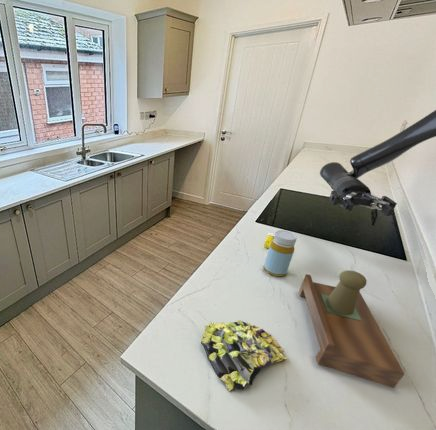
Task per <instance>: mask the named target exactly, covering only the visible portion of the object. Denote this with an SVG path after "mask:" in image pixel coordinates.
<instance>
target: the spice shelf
mask: <svg viewBox="0 0 436 430" xmlns="http://www.w3.org/2000/svg"><path fill="white" fill-rule="evenodd" d="M335 287H336V286H334V285H333V286H332V285H328V284H324V283H320V282H314V281H313V279H312V275H311V274H308V273H305V275H304V277H303V280H302V282H301V285H300V288H299V291H298V294H299V297H301V298H305V300H306V305H307V308H308V310H309V315H310V318H311V321H312V325H313V328H314V332H315V336H316V338H317V342H318V345H319V350H318V352H317V354H316V356H315V360H316V362H317V365H319V366H323V367H326V368H329V369H332V370H336V371H339V372H341V373H345V374H348V375H352V376H355V377H358V378H362V379H365V380H368V381H371V382H375V383H377V384H381V385H383V386H387V387H390V388H395V387H396V386H397V385H398V383H399V382H400V380H401V379H402V378H403V377H404V375H405V374H406V373H405V372H404V370H403V367H402V365H401V364H400V362H399V360H398V359H397V357H396V355H395V353H394V352H393V350H392V348H391V346H390V344H389V342H388V341H387V339H386V337H385V335H384V333H383V331H382V330H381V328H380V326H379V324H378V322H377V321H376V319H375V317H374V315H373V313H372V311H371V309H370V308H369V306H368V304H367V303H366V301H365V299H364V297H363V295H362V294H361V292H359V295H358V299H357V302H356V306H355V309H354V313H352V314H350V315H346V314H341V313H339V312H336V311H334V310H333V309H331V308H330V307H329V306H328V305H327V303H326V300H327V298H328V297H329V295H330V294H331V293H332V291H333V290H334V289H335Z"/></svg>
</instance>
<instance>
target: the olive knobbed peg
mask: <svg viewBox="0 0 436 430" xmlns="http://www.w3.org/2000/svg"><path fill="white" fill-rule="evenodd" d="M338 279H339V282H338V283H337V285H336V286H334V287H335V289H334V290H333V291H332V293H331V294H330V295H329V297H328V298H327V300H326V303H327V305H328V306H329V307H330V308H331V309H333V310H334V311H336V312H339V313H341V314H346V315H350V314H352V313H354V309H355V306H356V302H357V299H358V295H359V292H360V291H361V290H362V289H364V288H365V287H366V286H367V281H368V280H367V278H366V277H365V275H363V274H362V273H360V272H358V271H355V270H349V269H348V270H343V271H342V272H341V273H340V274H339V278H338ZM360 293H361V292H360Z"/></svg>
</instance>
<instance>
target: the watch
mask: <svg viewBox="0 0 436 430" xmlns="http://www.w3.org/2000/svg"><path fill="white" fill-rule="evenodd" d="M274 235H275V232H274V233H273V232H267V237H266V239H265V241H264V244H263V247H264V248H266V249H269V247H270V244H271V242H272V241H273V239H274Z"/></svg>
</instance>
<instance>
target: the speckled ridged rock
mask: <svg viewBox="0 0 436 430" xmlns="http://www.w3.org/2000/svg"><path fill="white" fill-rule="evenodd" d="M204 327H205V331H204V332H203V334H202V338H201V341H200V344H201V345H202V346H203V348H204V351H205V354H206V358H207V361H208V362H209V363H210V365H211V366H212V369H213V371H214V373H215V375H216V376H217V377H218V378H219V380H221V382H223V383H224V384H225V386H226V389H227V391H229V392H231V391H233V389H234V388H236V389H238V390H244V389H245V387H246V385H249V386H253V382H254V380H255V378H256V376H257V375H258V374H259V372H260V371H261V370H262V369H264V368H266V367H268V366H270V365H272V364H274V363H278V362H282V361H283V362H284V361H286V360H288V357H287V356H286V355H285V354H284V353H283V352H284V349H283V348H282V347H281V346H280V345H279V343H278V342H277V340H276V339H275V338H274V337H273V336H272V333H269V332H268V331H266V330H265V329H264V328H263V327H259V326H257V325H255V324H254V325H253V324H251V323H249V322H245V321H243V320H237V321H234V322H219V323H218V322H215V323H214V322H210V323H209V324H208V325H204Z"/></svg>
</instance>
